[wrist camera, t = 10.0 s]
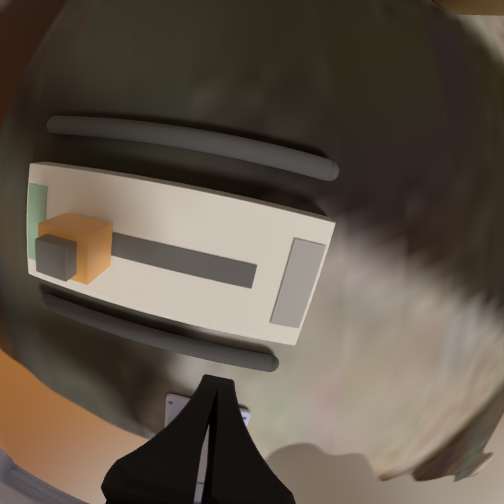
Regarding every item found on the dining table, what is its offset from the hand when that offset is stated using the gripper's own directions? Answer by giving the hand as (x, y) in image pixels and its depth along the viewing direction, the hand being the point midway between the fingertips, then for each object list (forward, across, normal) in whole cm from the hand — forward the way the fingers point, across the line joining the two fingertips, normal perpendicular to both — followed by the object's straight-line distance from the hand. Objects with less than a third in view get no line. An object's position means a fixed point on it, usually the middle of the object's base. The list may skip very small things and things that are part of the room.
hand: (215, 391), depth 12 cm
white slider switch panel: (+9, +6, -3) cm, 12 cm away
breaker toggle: (+7, +10, -3) cm, 13 cm away
